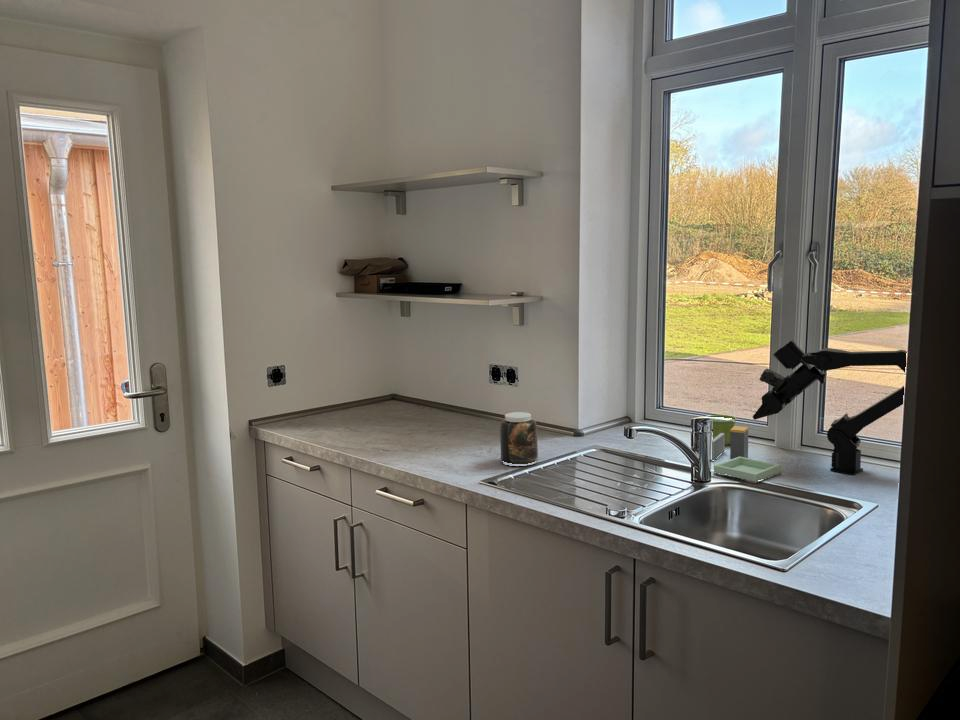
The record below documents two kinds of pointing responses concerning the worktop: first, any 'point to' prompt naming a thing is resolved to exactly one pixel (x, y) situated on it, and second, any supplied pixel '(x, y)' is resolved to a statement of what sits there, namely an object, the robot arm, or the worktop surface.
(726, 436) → the plant pot
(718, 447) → the panel
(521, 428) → the jar
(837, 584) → the worktop surface
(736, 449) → the grey yellow-capped canister
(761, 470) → the tray
